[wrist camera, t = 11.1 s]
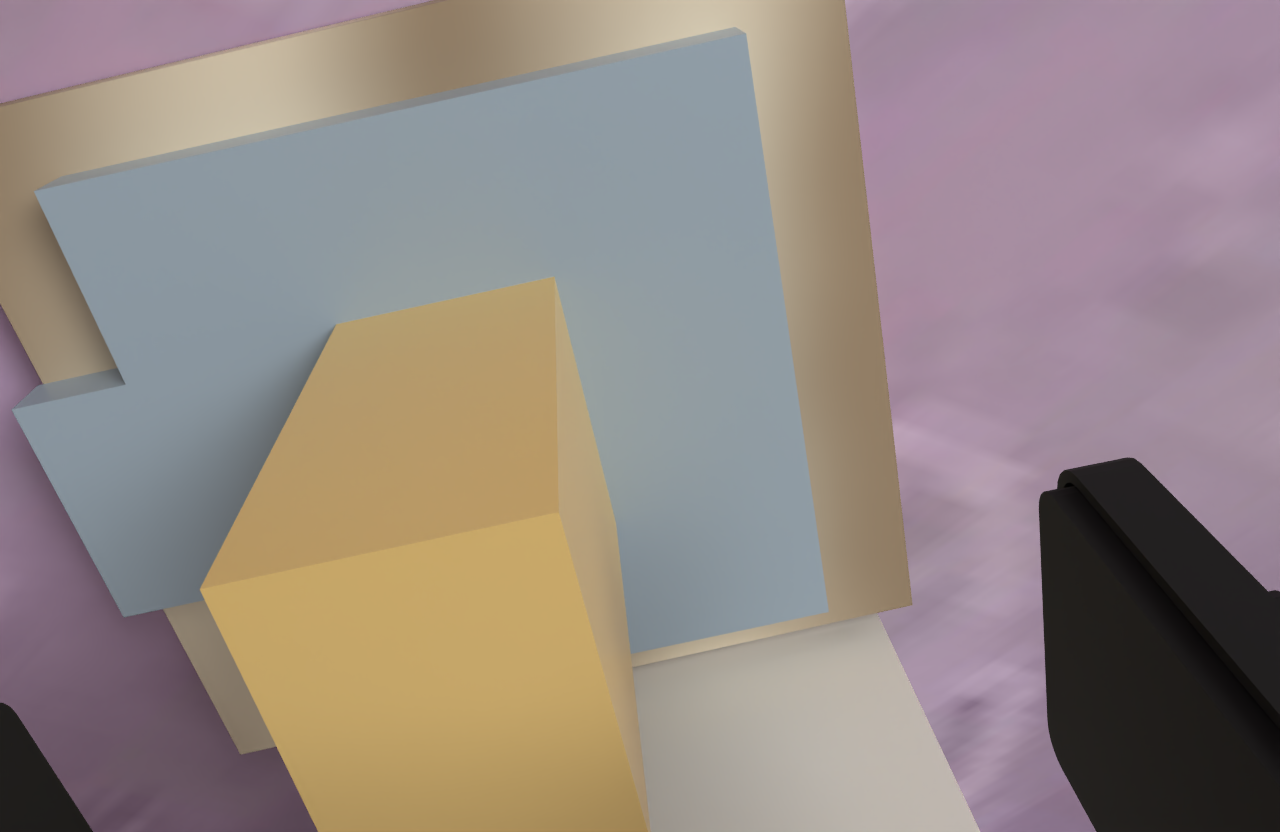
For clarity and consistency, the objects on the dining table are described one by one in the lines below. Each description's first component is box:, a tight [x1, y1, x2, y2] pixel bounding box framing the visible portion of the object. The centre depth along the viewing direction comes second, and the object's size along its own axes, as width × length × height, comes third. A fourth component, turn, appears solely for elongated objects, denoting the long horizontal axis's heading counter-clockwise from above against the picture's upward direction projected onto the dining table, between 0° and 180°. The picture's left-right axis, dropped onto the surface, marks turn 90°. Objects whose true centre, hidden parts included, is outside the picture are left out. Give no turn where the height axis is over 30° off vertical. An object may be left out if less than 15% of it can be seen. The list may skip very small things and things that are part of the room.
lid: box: [12, 27, 829, 832], centre depth 12 cm, size 11×9×7 cm
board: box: [0, 0, 912, 755], centre depth 16 cm, size 12×11×1 cm
